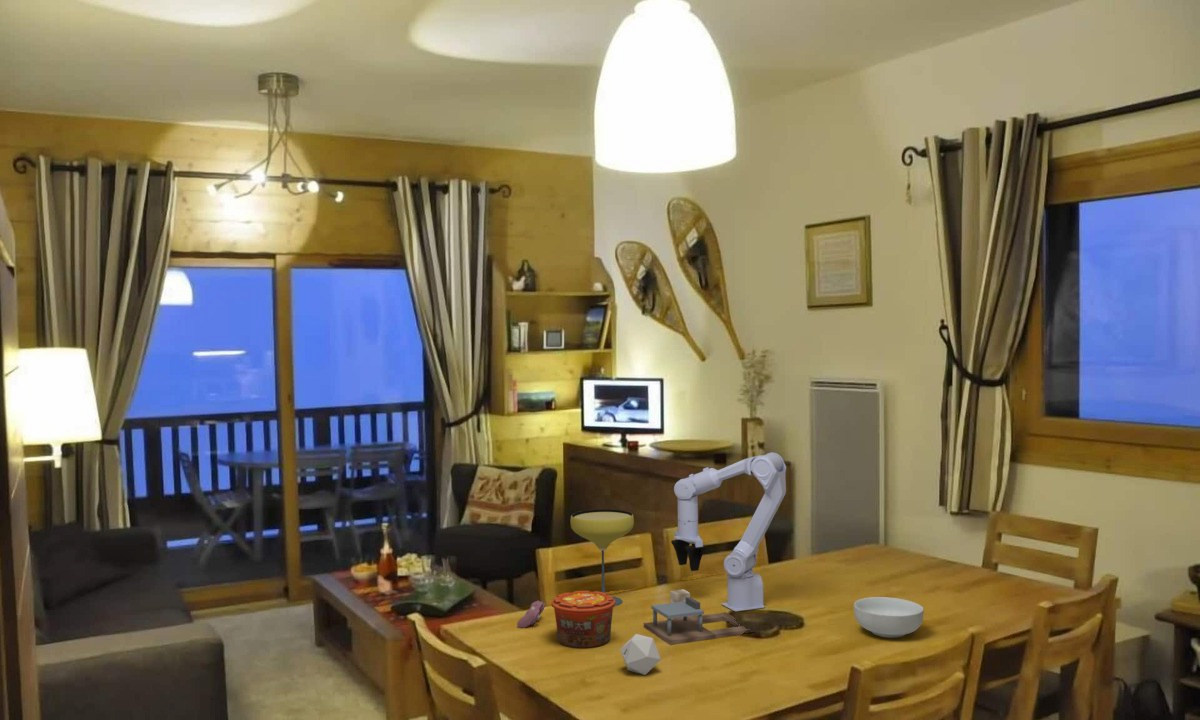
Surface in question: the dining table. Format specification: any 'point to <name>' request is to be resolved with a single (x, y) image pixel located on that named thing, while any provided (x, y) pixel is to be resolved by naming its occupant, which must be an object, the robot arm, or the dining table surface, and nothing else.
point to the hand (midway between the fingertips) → (688, 567)
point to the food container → (583, 618)
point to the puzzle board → (694, 629)
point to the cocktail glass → (602, 529)
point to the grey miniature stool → (678, 611)
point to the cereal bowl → (888, 616)
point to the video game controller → (531, 614)
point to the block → (678, 595)
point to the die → (640, 654)
